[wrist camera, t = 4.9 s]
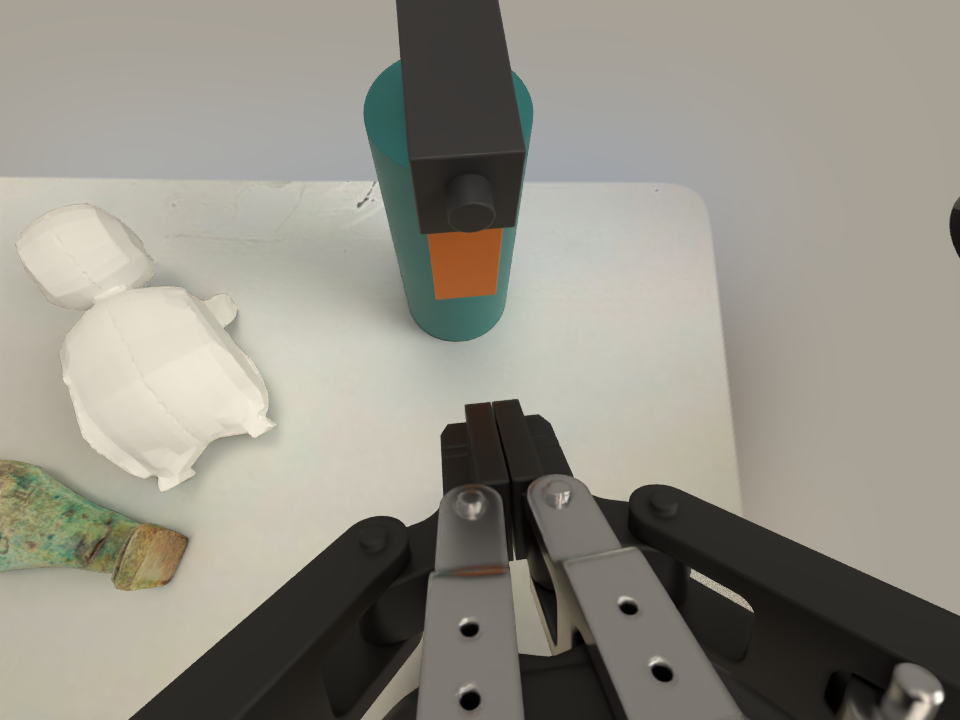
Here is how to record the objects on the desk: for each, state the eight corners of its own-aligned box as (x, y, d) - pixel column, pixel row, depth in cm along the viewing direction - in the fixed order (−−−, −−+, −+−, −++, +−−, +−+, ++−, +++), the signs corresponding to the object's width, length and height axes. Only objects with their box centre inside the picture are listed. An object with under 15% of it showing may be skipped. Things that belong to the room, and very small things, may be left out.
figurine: (140, 639, 25) (87, 653, 22) (-101, 526, 27) (-186, 522, 24) (199, 533, 27) (159, 530, 24) (-29, 433, 29) (-99, 417, 25)
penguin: (303, 410, 33) (174, 210, 32) (284, 419, 25) (108, 149, 23) (179, 485, 31) (36, 276, 30) (113, 522, 23) (-88, 235, 22)
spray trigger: (433, 273, 20) (423, 190, 16) (492, 268, 20) (499, 184, 16) (435, 300, 20) (425, 222, 15) (496, 294, 20) (504, 216, 15)
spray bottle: (405, 259, 34) (327, -102, 15) (499, 251, 34) (536, -110, 16) (416, 418, 30) (330, 198, 11) (521, 407, 30) (609, 176, 12)
